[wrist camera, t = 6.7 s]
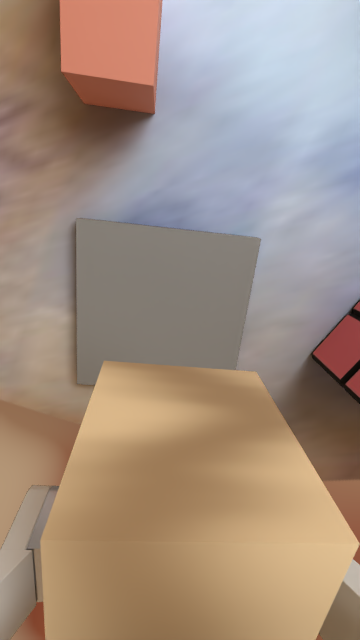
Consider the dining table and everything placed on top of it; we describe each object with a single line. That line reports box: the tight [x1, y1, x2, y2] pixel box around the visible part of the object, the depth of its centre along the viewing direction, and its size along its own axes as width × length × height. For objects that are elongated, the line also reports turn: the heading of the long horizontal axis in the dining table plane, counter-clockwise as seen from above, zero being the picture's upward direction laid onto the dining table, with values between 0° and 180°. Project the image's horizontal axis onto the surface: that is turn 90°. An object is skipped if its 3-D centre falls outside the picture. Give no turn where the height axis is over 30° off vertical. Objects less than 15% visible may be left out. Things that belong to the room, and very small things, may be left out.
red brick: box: [60, 0, 162, 114], centre depth 16 cm, size 4×7×5 cm, turn 174°
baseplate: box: [76, 218, 261, 385], centre depth 24 cm, size 13×13×1 cm
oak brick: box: [40, 361, 359, 640], centre depth 8 cm, size 4×7×5 cm, turn 173°
